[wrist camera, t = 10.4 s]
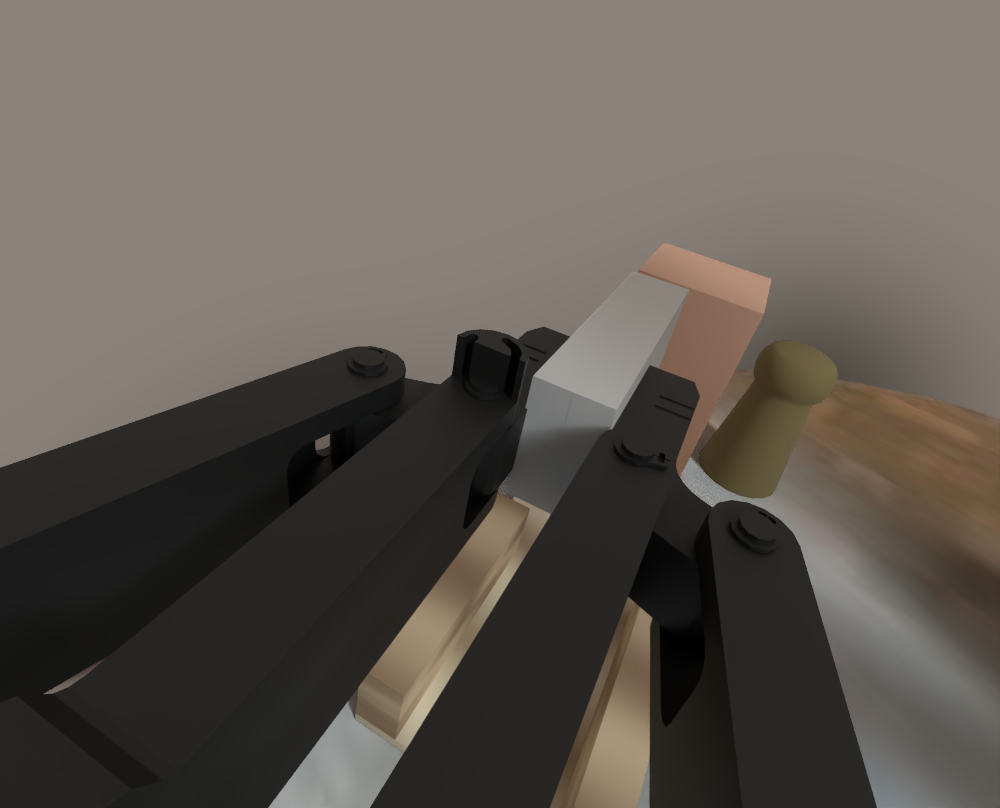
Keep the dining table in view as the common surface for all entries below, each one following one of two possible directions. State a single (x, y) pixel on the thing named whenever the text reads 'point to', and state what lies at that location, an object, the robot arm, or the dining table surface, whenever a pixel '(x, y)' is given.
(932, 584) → the dining table surface
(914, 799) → the dining table surface
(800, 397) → the olive green pawn
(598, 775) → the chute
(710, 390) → the post
